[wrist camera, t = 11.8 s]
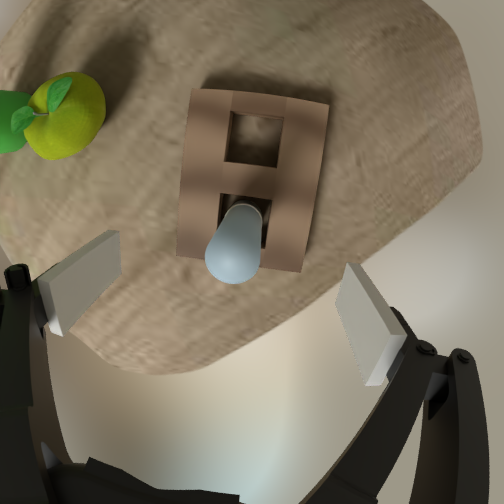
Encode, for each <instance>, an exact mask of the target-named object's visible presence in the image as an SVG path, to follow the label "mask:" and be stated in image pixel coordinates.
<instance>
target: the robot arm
mask: <svg viewBox="0 0 504 504" xmlns="http://www.w3.org/2000/svg"><path fill="white" fill-rule="evenodd" d="M121 274H122V271H121V257H120V236H119V231H115V230H107V231H106V232H104V233H103V234H101V235H99V236H98V237H96V238H95V239H93V240H92V241H90V242H89V243H87V244H86V245H84V246H83V247H81V248H80V249H78V250H77V251H75V252H74V253H72V254H71V255H69V256H68V257H67V258H65V259H64V260H62V261H61V262H59V263H57V264H55V265H54V266H52V267H51V268H50V269H48V270H47V271H45V273H43V274H41V275H40V276H39V277H37V278H36V279H35V280H33V281H32V282H31V278H30V273H29V268H28V266H27V265H26V264H15V265H12V266H10V267H8V268H7V269H6V270H5V271H4V275H5V279H6V283H7V287H8V290H4V289H1V287H0V504H244V503H241V502H239V495H235V494H226V493H218V492H211V491H204V490H161V489H156V488H154V487H152V486H149V485H148V484H146V483H144V482H142V481H140V480H139V479H137V478H135V477H133V476H132V475H130V474H128V473H126V472H125V471H123V470H122V469H119V468H116V467H113V466H111V465H108V464H105V463H103V462H100V461H97V460H96V459H93V458H91V457H89V459H88V461H87V463H86V464H84V463H73V462H72V460H71V459H70V457H69V455H68V453H67V450H66V447H65V443H64V440H63V436H62V433H61V429H60V424H59V420H58V416H57V412H56V407H55V402H54V397H53V391H52V385H51V379H50V372H49V364H48V355H47V345H46V332H45V329H44V325H45V324H46V323H47V322H48V323H49V327H50V330H51V332H52V333H55V334H58V335H60V336H64V335H65V334H66V333H67V331H68V330H69V329H70V328H71V327H72V326H73V325H74V324H75V322H76V321H77V320H78V319H79V318H80V317H81V316H82V315H83V314H84V312H85V311H86V310H87V309H88V308H89V307H90V306H91V305H92V304H93V303H94V302H95V301H96V299H97V298H98V297H99V296H100V295H101V294H102V293H103V292H104V291H105V290H106V289H107V288H108V287H109V286H110V285H111V284H112V283H113V282H114V281H115V280H116V279H117V278H118V277H119V276H120V275H121ZM335 305H336V308H337V310H338V313H339V316H340V317H341V321H342V323H343V326H344V328H345V331H346V334H347V336H348V339H349V342H350V345H351V348H352V350H353V353H354V356H355V359H356V361H357V364H358V367H359V370H360V373H361V376H362V379H363V382H364V385H365V386H378V385H381V384H382V382H383V380H384V378H385V377H386V376H387V378H388V380H389V383H388V385H387V387H386V388H385V390H384V392H383V393H382V395H381V396H380V398H379V400H378V402H377V403H376V405H375V407H374V408H373V410H372V412H371V413H370V414H369V416H368V418H367V419H366V421H365V422H364V424H363V425H362V427H361V428H360V430H359V431H358V432H357V434H356V436H355V437H354V438H353V440H352V441H351V442H350V444H349V445H348V446H347V448H346V449H345V450H344V452H343V453H342V454H341V456H340V457H339V458H338V459H337V461H336V462H335V463H334V464H333V466H332V467H331V468H330V469H329V471H328V472H327V473H326V474H325V475H324V477H323V478H322V479H321V480H320V481H319V482H318V483H317V485H316V486H315V487H314V488H313V489H312V490H311V491H310V492H309V493H308V494H307V495H306V497H305V498H304V499H303V500H302V501H301V502H300V503H299V504H377V503H378V500H377V499H376V497H377V494H378V493H379V491H380V489H381V488H382V486H383V484H384V483H385V481H386V479H387V478H388V476H389V474H390V472H391V470H392V469H393V467H394V465H395V463H396V461H397V459H398V457H399V455H400V453H401V451H402V449H403V447H404V445H405V443H406V441H407V438H408V436H409V434H410V432H411V429H412V427H413V425H414V422H415V420H416V417H417V415H418V413H419V410H420V408H421V405H422V402H423V400H424V404H423V419H422V430H421V441H420V448H419V455H418V462H417V468H416V474H415V479H414V484H413V489H412V493H411V497H410V501H409V504H488V499H489V445H488V433H487V423H486V416H485V408H484V402H483V396H482V390H481V385H480V381H479V375H478V371H477V367H476V363H475V360H474V358H473V356H472V355H471V354H470V353H469V352H468V351H466V350H463V349H459V348H457V349H454V350H453V351H452V352H451V354H450V356H449V357H446V356H442V355H437V350H436V348H435V347H434V346H432V344H430V343H428V342H426V341H424V340H418V339H417V337H416V335H415V334H414V333H413V331H412V329H411V328H410V326H409V325H408V323H407V322H406V321H405V319H404V318H403V316H402V315H401V313H400V312H399V311H397V310H396V309H395V308H394V307H389V306H388V304H387V303H386V301H385V300H384V298H383V297H382V295H381V294H380V292H379V291H378V289H377V288H376V287H375V285H374V284H373V283H372V281H371V279H370V278H369V277H368V275H367V274H366V272H365V271H364V270H363V268H362V267H361V265H360V264H358V263H351V262H347V264H346V268H345V272H344V275H343V279H342V282H341V286H340V289H339V293H338V296H337V299H336V302H335Z"/></svg>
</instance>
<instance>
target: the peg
mask: <svg viewBox="0 0 504 504" xmlns="http://www.w3.org/2000/svg"><path fill="white" fill-rule="evenodd" d="M261 229H262V213H261V210H260V208H259V207H258V206H257V205H256V204H255V203H254V202H252V201H249V200H240V201H238V202H236V203H234V204H233V205H232V206H231V207H230V209H229V210H228V211H227V213H226V215H225V217H224V219H223V221H222V222H221V224H220V226H219V227H218V229H217V231H216V232H215V234H214V236H213V237H212V239H211V241H210V242H209V244H208V246H207V248H206V251H205V262H206V265H207V268H208V270H209V271H210V272H211V274H212V275H213V276H214V277H216V278H217V279H218V280H220V281H222V282H225V283H230V284H238V283H242V282H245V281H247V280H249V279H250V278H251V277H253V276H254V275H255V273H256V272H257V270H258V268H259V265H260V254H261Z"/></svg>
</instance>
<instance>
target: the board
mask: <svg viewBox="0 0 504 504" xmlns="http://www.w3.org/2000/svg"><path fill="white" fill-rule="evenodd" d="M328 112H329V105H327V104H322V103H317V102H312V101H307V100H302V99H296V98H290V97H284V96H277V95H270V94H262V93H253V92H244V91H232V90H217V89H192V90H191V96H190V103H189V110H188V117H187V125H186V133H185V141H184V150H183V160H182V171H181V182H180V195H179V209H178V226H177V249H176V256H182V257H189V258H196V259H203V260H205V251H206V248H207V246H208V244H209V242H210V241H211V239H212V237H213V236H214V234H215V232H216V231H217V229H218V227H219V226H220V221H221V212H222V202H223V193H225V194H233V195H241V196H249V197H257V198H264V199H271V206H270V213H269V219H268V226H267V233H266V239H265V241H261V254H260V265H259V267H261V268H268V269H276V270H283V271H291V272H299V273H301V269H302V265H303V260H304V255H305V250H306V245H307V240H308V235H309V230H310V225H311V219H312V214H313V209H314V203H315V197H316V192H317V186H318V180H319V174H320V167H321V161H322V155H323V148H324V141H325V134H326V127H327V119H328ZM233 114H239V115H249V116H257V117H265V118H273V119H279V120H283V122H282V129H281V136H280V144H279V151H278V158H277V165H276V167H271V166H264V165H256V164H249V163H240V162H232V161H227V159H228V151H229V143H230V135H231V127H232V120H233Z"/></svg>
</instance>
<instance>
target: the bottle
mask: <svg viewBox="0 0 504 504" xmlns="http://www.w3.org/2000/svg"><path fill="white" fill-rule="evenodd" d="M30 98H31V95H29V94H28V93H26V92H17V91H5V90H0V154H1V153H7V152H14V151H17V150H19V149H21V148H22V147H23V146H24V144H25V143H26V142H27V140H26V138H25V135H24V130H23V131H21V132H20V133H17V134H13V133H12V130H11V119H12V115H13V113H14V112H15V111H17V110H18V109H20V108H22V107H24V106H27V105H28V102H29V100H30Z"/></svg>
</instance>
